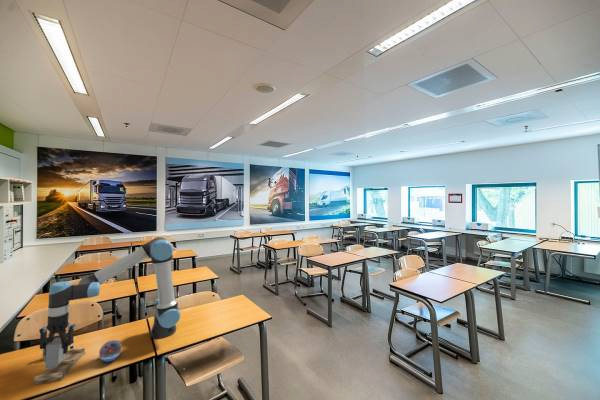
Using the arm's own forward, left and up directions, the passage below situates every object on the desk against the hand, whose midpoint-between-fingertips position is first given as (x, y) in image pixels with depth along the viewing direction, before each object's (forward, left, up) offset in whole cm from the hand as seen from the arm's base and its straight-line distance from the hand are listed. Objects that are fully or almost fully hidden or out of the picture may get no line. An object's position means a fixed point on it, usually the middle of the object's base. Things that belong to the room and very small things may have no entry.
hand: (55, 360), depth 122 cm
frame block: (0, 0, -1) cm, 1 cm away
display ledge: (0, -5, -7) cm, 8 cm away
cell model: (-21, -6, -7) cm, 23 cm away
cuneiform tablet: (+7, -17, -7) cm, 20 cm away
